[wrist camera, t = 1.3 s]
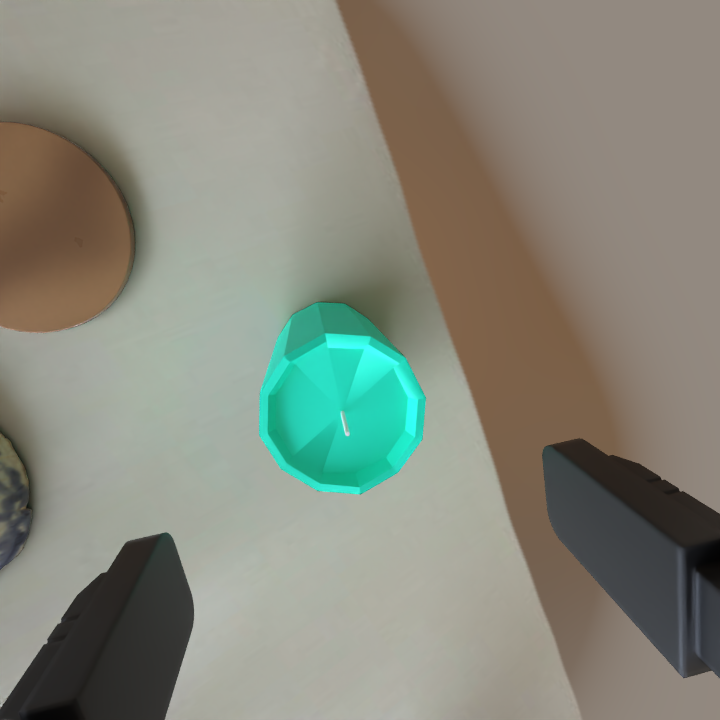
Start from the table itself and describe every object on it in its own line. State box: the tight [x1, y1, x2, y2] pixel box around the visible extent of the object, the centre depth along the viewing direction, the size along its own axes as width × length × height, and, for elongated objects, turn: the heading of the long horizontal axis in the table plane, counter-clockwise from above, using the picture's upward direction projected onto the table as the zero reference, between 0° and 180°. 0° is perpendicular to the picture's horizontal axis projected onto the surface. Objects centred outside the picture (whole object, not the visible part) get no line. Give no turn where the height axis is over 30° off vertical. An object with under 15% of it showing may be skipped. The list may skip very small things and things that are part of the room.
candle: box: [259, 302, 426, 494], centre depth 20 cm, size 6×6×12 cm
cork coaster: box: [0, 122, 135, 333], centre depth 22 cm, size 10×10×1 cm
